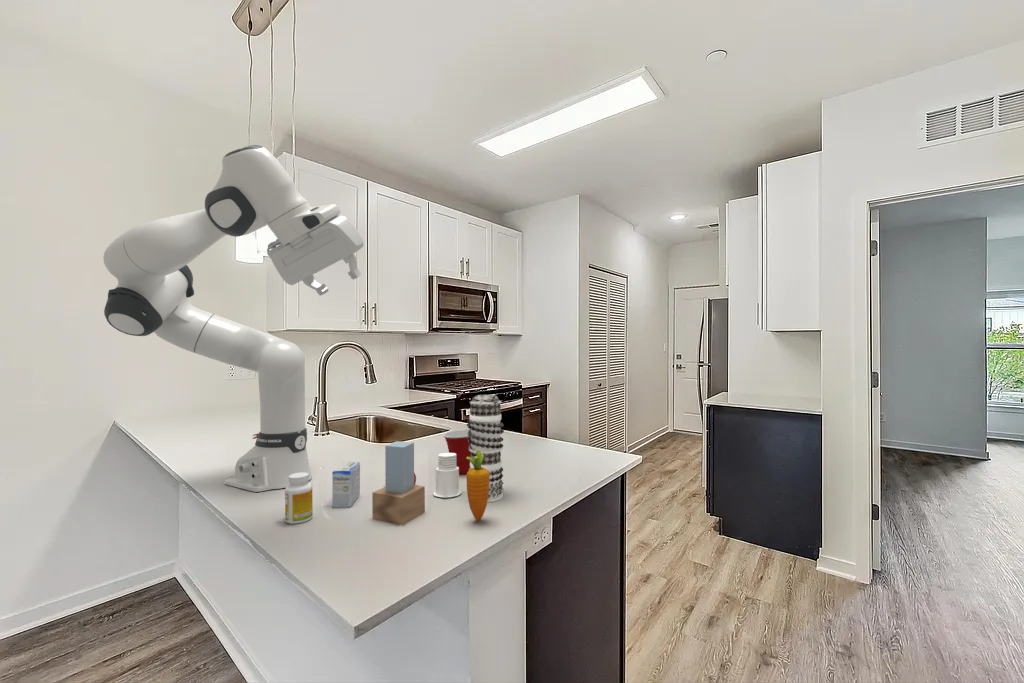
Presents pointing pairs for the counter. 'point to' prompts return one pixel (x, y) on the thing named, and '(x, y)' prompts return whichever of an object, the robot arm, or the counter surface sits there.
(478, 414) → the decorative candle
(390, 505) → the walnut block
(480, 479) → the carrot
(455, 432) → the plastic cup
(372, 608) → the counter surface
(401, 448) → the slate pillar
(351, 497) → the medicine box
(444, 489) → the downlight
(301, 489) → the supplement bottle
